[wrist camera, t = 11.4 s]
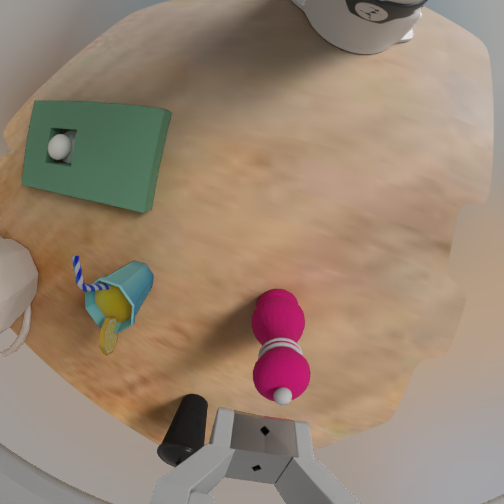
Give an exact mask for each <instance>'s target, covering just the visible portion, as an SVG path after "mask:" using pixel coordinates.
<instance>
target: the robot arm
mask: <svg viewBox="0 0 504 504" xmlns="http://www.w3.org/2000/svg"><path fill="white" fill-rule="evenodd" d="M292 2H293V3H294V4H296V5H297V6H298V7H299V8H300V9H302V10H303V11H304V13H305V14H306V16H307V18H308V20H309V22H310V23H311V25H312V26H313V28H314V29H315V30H316V31H317V32H318V33H319V34H320V35H321V36H322V37H323V38H324V39H325V40H327V41H328V42H330V43H331V44H333V45H335V46H337V47H339V48H341V49H343V50H346V51H349V52H353V53H358V54H375V53H379V52H382V51H384V50H386V49H388V48H389V47H391V46H392V45H393V44H395V43H401V42H408V41H410V40H411V39H412V38H413V26H414V25H415V24H416V23H417V22H418V21H419V20H420V18H421V17H422V13H421V8H422V7H423V6H424V4H426V2H427V0H292ZM224 477H227V478H234V479H241V480H250V481H256V482H262V483H269V484H275V485H274V486H275V487H276V489H277V490H278V492H279V493H280V495H281V497H282V498H283V500H284V501H285V503H286V504H361V503H360V502H359V501H358V500H357V499H356V498H355V497H354V496H353V495H352V494H351V493H350V492H349V491H348V490H347V489H346V488H345V487H344V486H343V485H342V484H341V483H340V482H339V481H338V480H337V479H336V478H335V476H333V474H332V473H331V472H329V470H328V469H327V468H326V467H325V466H324V465H323V464H322V463H321V462H320V461H319V459H314V454H313V446H312V439H311V432H310V425H309V423H308V422H305V421H296V420H289V419H281V418H274V417H268V416H260V415H255V414H250V413H246V412H241V411H237V410H231V409H227V408H223V407H219V408H218V410H217V414H216V418H215V421H214V425H213V428H212V432H211V436H210V441H209V444H206V445H205V446H203V447H202V448H201V449H199V450H198V451H197V452H195V453H194V454H193V455H191V456H190V457H189V458H187V459H186V460H185V461H183V462H182V463H181V464H179V465H178V466H177V467H175V468H174V469H172V470H171V471H170V472H168V473H167V474H165V475H164V476H162V477H161V478H160V479H158V480H157V482H156V485H155V488H154V491H153V494H152V497H151V500H150V504H214V502H215V499H214V498H213V497H212V496H211V495H209V494H208V493H209V492H210V491H211V490H212V489H213V488H214V487H215V486H216V485H217V484H218V483H219V482H220V481H221V480H222V479H223V478H224ZM0 504H111V503H109V502H107V501H104V500H102V499H99V498H96V497H95V496H92V495H90V494H88V493H86V492H83V491H81V490H79V489H77V488H75V487H73V486H71V485H69V484H67V483H65V482H63V481H61V480H59V479H57V478H55V477H53V476H52V475H50V474H48V473H46V472H44V471H43V470H41V469H39V468H37V467H36V466H34V465H33V464H31V463H29V462H27V461H26V460H24V459H23V458H21V457H20V456H18V455H17V454H15V453H14V452H12V451H11V450H9V449H8V448H6V447H5V446H4V445H2V444H1V443H0ZM482 504H504V494H503V495H501V496H499V497H496V498H494V499H492V500H489V501H488V502H485V503H482Z"/></svg>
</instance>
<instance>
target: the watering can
mask: <svg viewBox="0 0 504 504" xmlns="http://www.w3.org/2000/svg"><path fill="white" fill-rule="evenodd" d="M37 283H38V271H37V268H36V266H35V264H34V261H33V259H32V257H31V254H30V252H29V250H28V249H27V248H25V247H24V246H22V245H21V244H20V243H18V242H17V241H15V240H14V239H3V238H2V237H1V236H0V333H2V332H3V331H5V330H6V329H8V328H9V327H10V326H11V325H12V324H13V323H14V322H15V321H16V320H17V319H18V318H19V316H20V315H21V314H22V313H23V312H24V319H23V324H22V330H21V331H20V333H19V335H18V337H17V339H16V340H15V342H14V343H13V344H12V345H11V346H10V347H9V348H8V349H6V350H4V351H3V352H0V357H4V356H8V355H10V354H12V353H13V352H16V351H17V350H18V349H19V348H20V347H21V346H22V345H23V343H24V341H25V339H26V337H27V335H28V333H29V331H30V323H31V315H32V313H31V302H32V300H33V299H34V297H35V295H36V293H37Z"/></svg>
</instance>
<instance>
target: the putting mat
mask: <svg viewBox="0 0 504 504" xmlns="http://www.w3.org/2000/svg"><path fill="white" fill-rule="evenodd" d="M171 114H172V112H170V111H168V110H166V109H160V108H153V107H144V106H135V105H125V104H114V103H100V102H82V101H35V102H34V107H33V111H32V116H31V121H30V126H29V132H28V137H27V144H26V150H25V158H24V166H23V175H22V185H23V186H28V187H32V188H37V189H41V190H46V191H50V192H55V193H59V194H64V195H68V196H73V197H77V198H81V199H86V200H90V201H94V202H99V203H103V204H107V205H112V206H116V207H120V208H125V209H129V210H133V211H137V212H142V213H145V212H147V211H149V210H151V209H152V204H153V198H154V193H155V187H156V182H157V177H158V172H159V167H160V162H161V157H162V152H163V148H164V143H165V139H166V135H167V130H168V126H169V122H170V118H171ZM62 129H73V130H71V131H68V132H66V133H65V134H64V135H67V136H68V137H69V138H70V140H71V143H72V148H71V151H70V153H69V155H68V156H67V157H65V158H64V159H62V160H63V161H64V162H66V163H60V162H56V159H53V158H52V157H51V156H50V155H49V153H48V144H49V142H50V140H51V139H52V138H53V137H54V136H55V135H58V134H61V131H62ZM74 130H77V131H74ZM67 163H71V164H67Z"/></svg>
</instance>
